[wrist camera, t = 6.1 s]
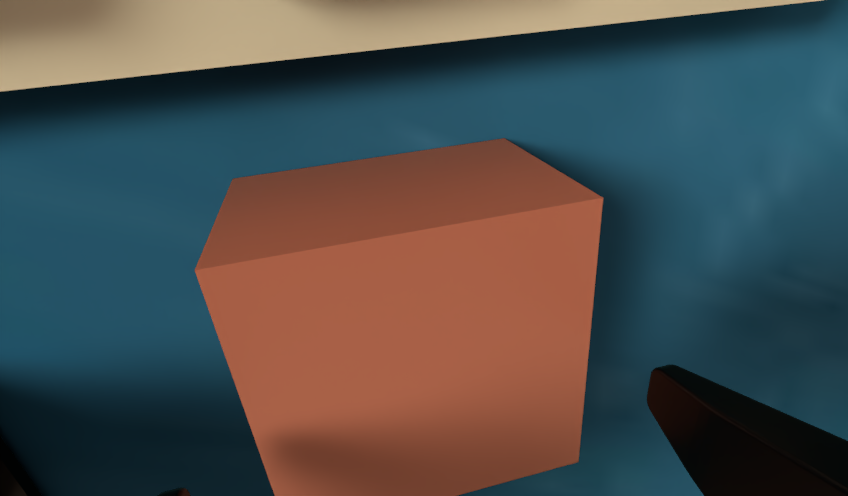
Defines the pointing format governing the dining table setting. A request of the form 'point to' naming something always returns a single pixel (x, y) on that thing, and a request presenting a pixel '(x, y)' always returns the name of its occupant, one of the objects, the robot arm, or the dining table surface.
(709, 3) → the breaker panel
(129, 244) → the dining table surface
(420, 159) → the terracotta orange block
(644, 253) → the dining table surface
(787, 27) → the dining table surface
